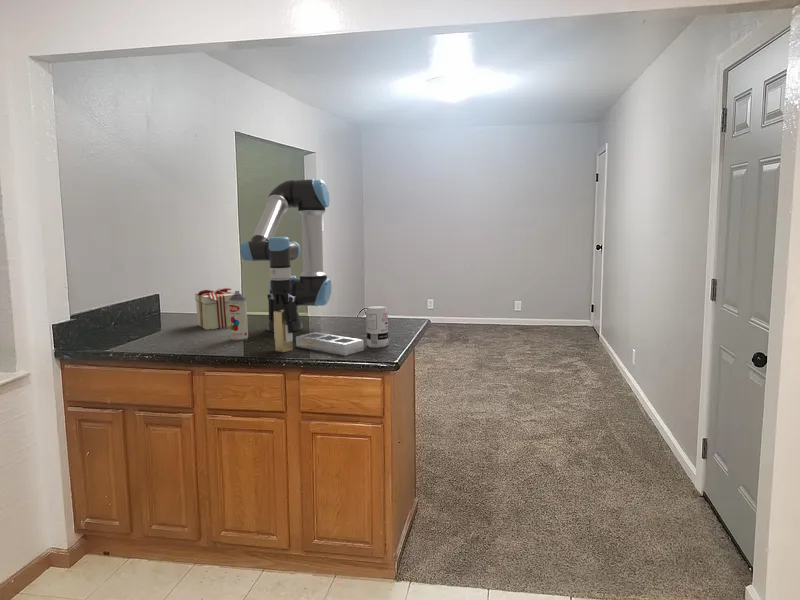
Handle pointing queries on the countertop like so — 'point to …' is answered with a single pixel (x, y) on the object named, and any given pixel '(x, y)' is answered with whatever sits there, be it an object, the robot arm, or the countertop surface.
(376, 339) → the supplement can
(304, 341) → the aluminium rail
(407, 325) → the countertop surface
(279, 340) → the brass peg
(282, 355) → the countertop surface
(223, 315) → the gift box
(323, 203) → the robot arm
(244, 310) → the aerosol can
